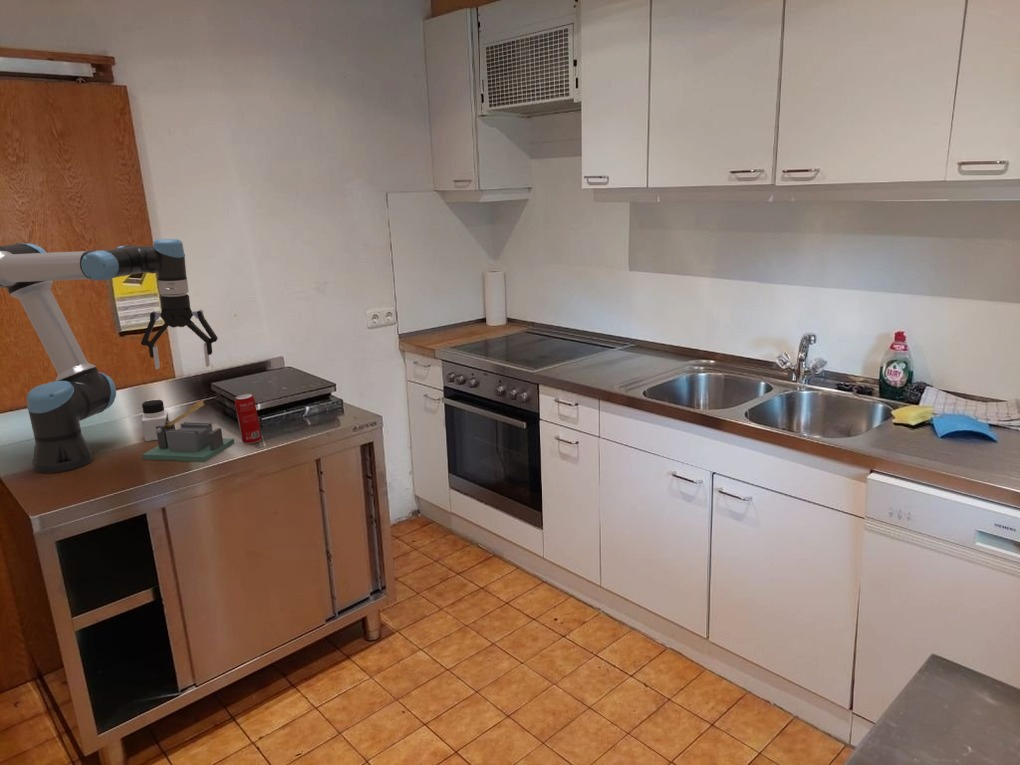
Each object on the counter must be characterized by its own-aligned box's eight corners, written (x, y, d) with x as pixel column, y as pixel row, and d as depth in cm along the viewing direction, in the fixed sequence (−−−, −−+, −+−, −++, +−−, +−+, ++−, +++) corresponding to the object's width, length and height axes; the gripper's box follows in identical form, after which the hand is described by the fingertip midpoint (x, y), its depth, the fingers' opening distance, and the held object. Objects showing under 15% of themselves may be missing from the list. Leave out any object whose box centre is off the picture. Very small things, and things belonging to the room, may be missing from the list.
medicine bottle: (169, 438, 236) (163, 402, 233) (144, 441, 234) (138, 405, 230) (170, 431, 243) (164, 396, 239) (146, 435, 240) (140, 399, 237)
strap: (161, 431, 222) (158, 427, 222) (168, 427, 226) (165, 423, 225) (198, 407, 218) (195, 403, 217) (205, 404, 221) (202, 399, 221)
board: (143, 459, 219) (138, 432, 216) (176, 440, 234) (172, 415, 232) (204, 462, 215) (200, 434, 213) (234, 443, 230) (230, 417, 228)
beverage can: (265, 438, 233) (259, 392, 229) (253, 445, 227) (247, 398, 223) (248, 437, 235) (243, 391, 231) (236, 444, 229) (230, 397, 225)
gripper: (123, 298, 205) (133, 372, 210) (219, 294, 211) (226, 367, 216) (129, 294, 212) (139, 366, 217) (222, 291, 218) (229, 361, 223)
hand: (183, 367), depth 217 cm, fingers open, 13 cm apart
